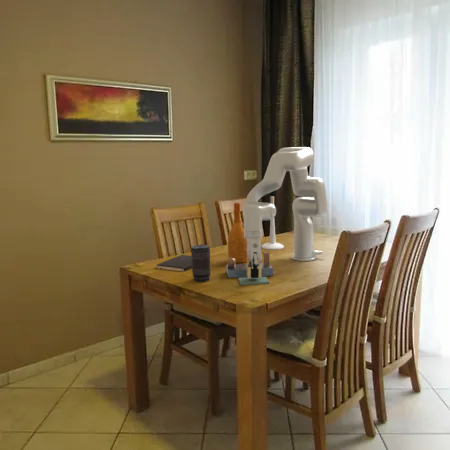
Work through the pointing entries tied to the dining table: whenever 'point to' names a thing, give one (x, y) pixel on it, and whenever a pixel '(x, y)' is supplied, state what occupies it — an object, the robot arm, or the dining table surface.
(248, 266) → the lever cap
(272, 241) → the candlestick
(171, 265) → the hardcover book
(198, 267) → the camera lens
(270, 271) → the hand plane
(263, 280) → the rubber mat
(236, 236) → the wine bottle
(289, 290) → the dining table surface
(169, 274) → the dining table surface
